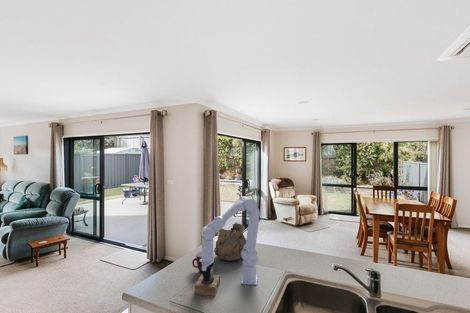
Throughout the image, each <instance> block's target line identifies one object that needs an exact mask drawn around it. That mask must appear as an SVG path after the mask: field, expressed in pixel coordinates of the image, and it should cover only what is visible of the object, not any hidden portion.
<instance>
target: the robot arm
mask: <svg viewBox="0 0 470 313" xmlns="http://www.w3.org/2000/svg"><path fill="white" fill-rule="evenodd" d="M245 211H246V213H247V214H248V215H249V217H248V224H247V231H246V237H245V239H246V244H245V245H244V247H243V250H242V252H241V259H242V278H241V281H240V282H241V283H240V284H241V285H252V286H253V285H255V286H257V284H258V275H257V264H258V262H259V257H258V250H257V247H256V246H257V245H256V244H257V239H258V238H257V237H258V231H259V222H260V216H261V213H260V212H261V211H260V209H259V206H258V203H257V202H256V200H255V199H253V198H250V197H248V196H246V195H243V196H241V197H240V198H238V199H237V200H236V201H235V202H234V204H232V205H231V206H230V207H229V208H228V209H227V211H225V212H224V213H223V214H222V215H217V216H214V217H213V218H214V219H213V220H212V221H211V222H209V223H207V224H206V225H205V226H203V227H202V228H201V230H200V235H201V236H202V237H201V252H202V259H200V262H202V266H201V267H200V270H201V271H202V273H201V274H203V277H204V281H209V278H210V272H211V269H212V267H213V268H214V265H215V262H216V260H214V259H215V258H214V239H215V236H216V234H217V233H219V230H220V229H223V228H224V226H225V225H226V224H227V221H228V220H229V219H231V218H232V217H233V216H234V215H235V214H237V213H238V212H245Z"/></svg>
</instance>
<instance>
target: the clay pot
mask: <svg viewBox="0 0 470 313" xmlns="http://www.w3.org/2000/svg"><path fill="white" fill-rule="evenodd" d="M245 229H246V228H245V225H243V224H241V223H238V222H235V223H233V224H232V227H231V228H230V229H224V228H221V229H220V230H219V231H218V236H217V240H216V241H215V247H214V249H213V253H214V255H215V256H216V257H217V258H219V259H220V260H223V261H228V262H229V261H230V262H231V261H237V260H240V258H241V259H242V257H241V252H242V250H243V247H244V245H245V244H246V237H245V235H244V231H245Z"/></svg>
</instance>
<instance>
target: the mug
mask: <svg viewBox="0 0 470 313" xmlns="http://www.w3.org/2000/svg"><path fill="white" fill-rule="evenodd" d="M200 259H202V251H200V252H198V253H196V255H195V258H194V259H192V261H191V265H192V267H194V268H195V269H196V268H197V270H198V271H199V273H200V274H202V271H201V270H200V267H201V266H202V262H200ZM195 261H196V265H195Z"/></svg>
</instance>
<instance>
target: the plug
mask: <svg viewBox="0 0 470 313" xmlns="http://www.w3.org/2000/svg"><path fill="white" fill-rule="evenodd" d="M213 275H214V266H213V267H212V269H211V272H210V278H209V281H204V277H203V283H207V284H212V282H213Z"/></svg>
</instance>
